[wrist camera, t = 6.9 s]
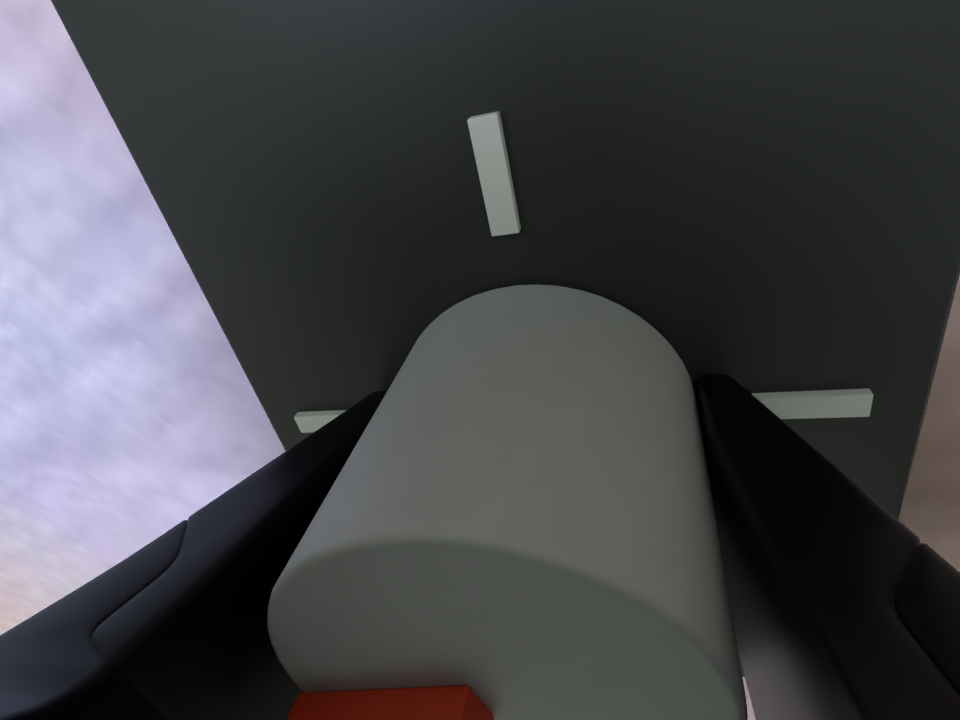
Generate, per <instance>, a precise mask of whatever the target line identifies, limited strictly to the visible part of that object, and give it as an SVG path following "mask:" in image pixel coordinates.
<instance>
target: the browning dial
mask: <svg viewBox="0 0 960 720" xmlns="http://www.w3.org/2000/svg"><path fill="white" fill-rule="evenodd" d="M268 631H269V636H270V640H271V644H272V646H273V648H274V651H275V653H276V655H277V657H278V659H279V661H280V662H281V664H282V666H283V667H284V669H285V670H286V672H287V674H288V675H289V676H290V677H291V678H292V680H293V681H294V682H295V683H296V685H297V686H298V687H299V688H300V689H301V690H302V691H303V693H299V694H298V696H297V698H296V700H295V702H294V704H293V707H292V709H291V711H290V713H289V715H288V718H287V720H747V706H746V696H745V690H744V684H743V678H742V672H741V666H740V660H739V654H738V648H737V642H736V636H735V630H734V624H733V618H732V612H731V606H730V600H729V594H728V588H727V582H726V576H725V570H724V564H723V558H722V552H721V546H720V540H719V534H718V528H717V522H716V516H715V510H714V504H713V498H712V492H711V486H710V480H709V474H708V468H707V462H706V456H705V450H704V443H703V437H702V431H701V425H700V419H699V413H698V407H697V401H696V395H695V391H694V388H693V385H692V381H691V378H690V376H689V374H688V372H687V370H686V368H685V366H684V364H683V361H682V360H681V359H680V357H679V356H678V354H677V353H676V351H675V350H674V349H673V347H672V346H671V345H670V344H669V342H668V341H667V340H666V339H665V338H664V337H663V336H662V335H661V334H660V333H659V332H658V331H657V330H656V329H655V328H653V327H652V326H651V325H650V324H648V323H647V322H646V321H645V320H643V319H642V318H641V317H639V316H638V315H636V314H634V313H633V312H631V311H630V310H628V309H626V308H625V307H623V306H621V305H619V304H617V303H615V302H612V301H610V300H608V299H606V298H604V297H601V296H598V295H595V294H592V293H589V292H585V291H582V290H578V289H573V288H568V287H562V286H554V285H539V284H534V285H515V286H509V287H504V288H498V289H493V290H490V291H487V292H484V293H480V294H477V295H474V296H472V297H470V298H468V299H465V300H463V301H461V302H459V303H457V304H455V305H454V306H452V307H451V308H449V309H448V310H446V311H445V312H443V313H442V314H441V315H439V316H438V317H437V318H436V319H435V320H434V321H433V322H432V323H430V324H429V325H428V327H427V328H426V329H425V330H424V331H423V333H422V334H421V335H420V336H419V338H418V339H417V341H416V343H415V345H414V346H413V348H412V350H411V351H410V353H409V355H408V357H407V358H406V360H405V362H404V363H403V365H402V367H401V369H400V370H399V372H398V374H397V376H396V377H395V379H394V381H393V382H392V384H391V386H390V388H389V389H388V391H387V393H386V394H385V396H384V398H383V400H382V401H381V403H380V405H379V406H378V408H377V410H376V412H375V413H374V415H373V417H372V419H371V420H370V422H369V424H368V425H367V427H366V429H365V431H364V432H363V434H362V436H361V437H360V439H359V441H358V443H357V444H356V446H355V448H354V449H353V451H352V453H351V455H350V456H349V458H348V460H347V462H346V463H345V465H344V467H343V468H342V470H341V472H340V474H339V475H338V477H337V479H336V480H335V482H334V484H333V486H332V487H331V489H330V491H329V492H328V494H327V496H326V498H325V499H324V501H323V503H322V505H321V506H320V508H319V510H318V511H317V513H316V515H315V517H314V518H313V520H312V522H311V523H310V525H309V527H308V529H307V530H306V532H305V534H304V536H303V537H302V539H301V541H300V542H299V544H298V546H297V548H296V549H295V551H294V553H293V554H292V556H291V558H290V560H289V561H288V563H287V565H286V566H285V568H284V570H283V572H282V573H281V575H280V577H279V579H278V580H277V582H276V584H275V586H274V587H273V589H272V593H271V597H270V601H269V605H268Z"/></svg>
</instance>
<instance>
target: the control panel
mask: <svg viewBox="0 0 960 720" xmlns="http://www.w3.org/2000/svg"><path fill="white" fill-rule="evenodd" d="M51 1H52V3H53V5H54V7H55V9H56V11H57V13H58V15H59V17H60V18H61V20H62V22H63V24H64V26H65V28H66V30H67V32H68V34H69V36H70V38H71V40H72V42H73V43H74V45H75V47H76V49H77V51H78V53H79V55H80V57H81V59H82V61H83V63H84V65H85V67H86V68H87V70H88V72H89V74H90V76H91V78H92V80H93V82H94V84H95V86H96V88H97V90H98V91H99V93H100V95H101V97H102V99H103V101H104V103H105V105H106V107H107V109H108V111H109V113H110V115H111V116H112V118H113V120H114V122H115V124H116V126H117V128H118V130H119V132H120V134H121V136H122V138H123V139H124V141H125V143H126V145H127V147H128V149H129V151H130V153H131V155H132V157H133V159H134V161H135V163H136V164H137V166H138V168H139V170H140V172H141V174H142V176H143V178H144V180H145V182H146V184H147V186H148V188H149V189H150V191H151V193H152V195H153V197H154V199H155V201H156V203H157V205H158V207H159V209H160V211H161V212H162V214H163V216H164V218H165V220H166V222H167V224H168V226H169V228H170V230H171V232H172V234H173V236H174V237H175V239H176V241H177V243H178V245H179V247H180V249H181V251H182V253H183V255H184V257H185V259H186V260H187V262H188V264H189V266H190V268H191V270H192V272H193V274H194V276H195V278H196V280H197V282H198V284H199V285H200V287H201V289H202V291H203V293H204V295H205V297H206V299H207V301H208V303H209V305H210V307H211V309H212V310H213V312H214V314H215V316H216V318H217V320H218V322H219V324H220V326H221V328H222V330H223V332H224V333H225V335H226V337H227V339H228V341H229V343H230V345H231V347H232V349H233V351H234V353H235V355H236V357H237V358H238V360H239V362H240V364H241V366H242V368H243V370H244V372H245V374H246V376H247V378H248V380H249V381H250V383H251V385H252V387H253V389H254V391H255V393H256V395H257V397H258V399H259V401H260V403H261V405H262V406H263V408H264V410H265V412H266V414H267V416H268V418H269V420H270V422H271V424H272V426H273V428H274V430H275V431H276V433H277V435H278V437H279V439H280V441H281V443H282V445H283V447H284V449H285V451H287V450H289V449H290V448H292V447H293V446H295V445H296V444H298V443H299V442H300V441H302V440H303V439H305V438H306V437H308V436H309V435H311V434H312V433H314V432H315V431H317V430H318V429H320V428H321V427H323V426H324V425H326V424H327V423H329V422H330V421H331V420H333V419H334V418H336V417H337V416H339V415H340V414H342V413H343V412H345V411H346V410H348V409H349V408H351V407H352V406H354V405H355V404H357V403H358V402H360V401H361V400H362V399H364V398H365V397H367V396H368V395H370V394H371V393H373V392H375V391H387V390H388V389H389V388H390V386H391V384H392V382H393V381H394V379H395V377H396V376H397V374H398V372H399V370H400V369H401V367H402V365H403V363H404V362H405V360H406V358H407V357H408V355H409V353H410V351H411V350H412V348H413V346H414V345H415V343H416V341H417V339H418V338H419V336H420V335H421V334H422V333H423V331H424V330H425V329H426V328H427V327H428V325H429V324H430V323H432V322H433V321H434V320H435V319H436V318H437V317H438V316H439V315H441V314H442V313H443V312H445V311H446V310H448V309H449V308H451V307H452V306H454V305H455V304H457V303H459V302H461V301H463V300H465V299H468V298H470V297H472V296H474V295H477V294H480V293H484V292H487V291H490V290H493V289H498V288H504V287H509V286H515V285H534V284H539V285H554V286H562V287H568V288H573V289H578V290H582V291H585V292H589V293H592V294H595V295H598V296H601V297H604V298H606V299H608V300H610V301H612V302H615V303H617V304H619V305H621V306H623V307H625V308H626V309H628V310H630V311H631V312H633V313H634V314H636V315H638V316H639V317H641V318H642V319H643V320H645V321H646V322H647V323H648V324H650V325H651V326H652V327H653V328H655V329H656V330H657V331H658V332H659V333H660V334H661V335H662V336H663V337H664V338H665V339H666V340H667V341H668V342H669V344H670V345H671V346H672V347H673V349H674V350H675V351H676V353H677V354H678V356H679V357H680V359H681V360H682V361H683V364H684V366H685V368H686V370H687V372H688V374H689V376H690V378H691V381H692V385H693V388H694V391H695V395H696V401H697V380H698V379H699V378H700V377H701V376H717V375H728V376H731V377H732V378H733V379H735V380H736V381H737V382H738V383H739V384H740V385H741V386H743V387H744V388H745V389H746V390H747V391H748V392H750V393H751V394H752V395H753V396H754V397H755V398H757V399H758V400H759V401H760V402H761V403H762V404H764V405H765V406H766V407H767V408H768V409H769V410H771V411H772V412H773V413H774V414H775V415H776V416H778V417H779V418H780V419H781V420H782V421H783V422H785V423H786V424H787V425H788V426H789V427H790V428H792V429H793V430H794V431H795V432H796V433H797V434H798V435H800V436H801V437H802V438H803V439H804V440H805V441H807V442H808V443H809V444H810V445H811V446H812V447H814V448H815V449H816V450H817V451H818V452H819V453H821V454H822V455H823V456H824V457H825V458H826V459H828V460H829V461H830V462H831V463H832V464H833V465H835V466H836V467H837V468H838V469H839V470H840V471H842V472H843V473H844V474H845V475H846V476H847V477H848V478H850V479H851V480H852V481H853V482H854V483H855V484H857V485H858V486H859V487H860V488H861V489H862V490H864V491H865V492H866V493H867V494H868V495H869V496H871V497H872V498H873V499H874V500H875V501H876V502H878V503H879V504H880V505H881V506H882V507H883V508H885V509H886V510H887V511H888V512H889V513H890V514H892V515H893V516H894V517H895V518H896V519H897V520H898V518H899V514H900V510H901V506H902V502H903V498H904V494H905V490H906V486H907V482H908V478H909V474H910V470H911V466H912V462H913V458H914V454H915V450H916V446H917V442H918V438H919V434H920V430H921V426H922V422H923V418H924V414H925V410H926V406H927V402H928V398H929V394H930V390H931V386H932V382H933V378H934V374H935V370H936V366H937V362H938V358H939V354H940V350H941V346H942V342H943V338H944V334H945V330H946V326H947V322H948V318H949V314H950V310H951V306H952V302H953V298H954V294H955V290H956V286H957V282H958V278H959V274H960V0H51ZM737 648H738V647H737ZM738 654H739V651H738ZM739 660H740V666H741V672H742V677H745V675H744V671H743V667H742V663H741V659H740V655H739Z"/></svg>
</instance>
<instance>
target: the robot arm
mask: <svg viewBox="0 0 960 720" xmlns="http://www.w3.org/2000/svg"><path fill="white" fill-rule="evenodd" d="M387 391H388V390H387ZM387 391H375V392H373V393H371V394H370V395H368V396H367V397H365V398H364V399H362V400H361V401H360V402H358V403H357V404H355V405H354V406H352V407H351V408H349V409H348V410H346V411H345V412H343V413H342V414H340V415H339V416H337V417H336V418H334V419H333V420H331V421H330V422H329V423H327V424H326V425H324V426H323V427H321V428H320V429H318V430H317V431H315V432H314V433H312V434H311V435H309V436H308V437H306V438H305V439H303V440H302V441H300V442H299V443H298V444H296V445H295V446H293V447H292V448H290V449H289V450H287V451H286V452H284V453H283V454H281V455H280V456H278V457H277V458H275V459H274V460H272V461H271V462H269V463H268V464H267V465H265V466H264V467H262V468H261V469H259V470H258V471H256V472H255V473H253V474H252V475H250V476H249V477H247V478H246V479H244V480H243V481H241V482H240V483H239V484H237V485H236V486H234V487H233V488H231V489H230V490H228V491H227V492H225V493H224V494H222V495H221V496H219V497H218V498H216V499H215V500H213V501H212V502H210V503H209V504H208V505H206V506H205V507H203V508H202V509H200V510H199V511H197V512H196V513H194V514H193V515H191V516H190V517H189V519H188V521H187V520H184V521H182V522H181V523H179V524H178V525H176V526H175V527H173V528H172V529H170V530H169V531H167V532H166V533H165V534H163V535H162V536H160V537H159V538H157V539H156V540H154V541H153V542H151V543H149V544H148V545H146V546H145V547H143V548H142V549H140V550H139V551H137V552H136V553H134V554H133V555H131V556H130V557H128V558H127V559H125V560H124V561H122V562H120V563H119V564H117V565H115V566H114V567H112V568H111V569H109V570H107V571H106V572H104V573H103V574H101V575H99V576H98V577H96V578H94V579H93V580H91V581H90V582H88V583H86V584H85V585H83V586H82V587H80V588H78V589H77V590H75V591H73V592H72V593H70V594H68V595H67V596H65V597H63V598H62V599H60V600H58V601H57V602H55V603H53V604H52V605H50V606H48V607H47V608H45V609H43V610H42V611H40V612H39V613H37V614H35V615H34V616H32V617H30V618H29V619H27V620H25V621H24V622H22V623H20V624H19V625H17V626H15V627H14V628H12V629H10V630H9V631H7V632H5V633H4V634H2V635H0V720H287V718H288V715H289V713H290V711H291V709H292V707H293V704H294V702H295V700H296V698H297V696H298V694H299V693H303V691H302V690H301V689H300V688H299V687H298V686H297V685H296V683H295V682H294V681H293V680H292V678H291V677H290V676H289V675H288V674H287V672H286V670H285V669H284V667H283V666H282V664H281V662H280V661H279V659H278V657H277V655H276V653H275V651H274V648H273V646H272V644H271V640H270V636H269V631H268V605H269V601H270V597H271V593H272V589H273V587H274V586H275V584H276V582H277V580H278V579H279V577H280V575H281V573H282V572H283V570H284V568H285V566H286V565H287V563H288V561H289V560H290V558H291V556H292V554H293V553H294V551H295V549H296V548H297V546H298V544H299V542H300V541H301V539H302V537H303V536H304V534H305V532H306V530H307V529H308V527H309V525H310V523H311V522H312V520H313V518H314V517H315V515H316V513H317V511H318V510H319V508H320V506H321V505H322V503H323V501H324V499H325V498H326V496H327V494H328V492H329V491H330V489H331V487H332V486H333V484H334V482H335V480H336V479H337V477H338V475H339V474H340V472H341V470H342V468H343V467H344V465H345V463H346V462H347V460H348V458H349V456H350V455H351V453H352V451H353V449H354V448H355V446H356V444H357V443H358V441H359V439H360V437H361V436H362V434H363V432H364V431H365V429H366V427H367V425H368V424H369V422H370V420H371V419H372V417H373V415H374V413H375V412H376V410H377V408H378V406H379V405H380V403H381V401H382V400H383V398H384V396H385V394H386V393H387ZM697 407H698V413H699V419H700V425H701V431H702V437H703V443H704V450H705V456H706V462H707V468H708V474H709V480H710V486H711V492H712V498H713V504H714V510H715V516H716V522H717V528H718V534H719V540H720V546H721V552H722V558H723V564H724V570H725V576H726V582H727V588H728V594H729V600H730V606H731V612H732V618H733V624H734V630H735V636H736V642H737V647H738V651H739V655H740V659H741V663H742V667H743V671H744V675H745V678H746V682H747V686H748V690H749V694H750V698H751V702H752V706H753V710H754V714H755V718H756V720H960V572H958V571H957V570H956V569H955V568H954V567H952V566H951V565H950V564H949V563H948V562H947V561H945V560H944V559H943V558H942V557H941V556H940V555H939V554H937V553H936V552H935V551H934V550H933V549H932V548H930V547H929V546H928V545H927V544H924V543H921V544H919V543H920V539H919V538H918V537H917V536H916V535H915V534H914V533H912V532H911V531H910V530H909V529H908V528H907V527H905V526H904V525H903V524H902V523H901V522H900V521H899V520H897V519H896V518H895V517H894V516H893V515H892V514H890V513H889V512H888V511H887V510H886V509H885V508H883V507H882V506H881V505H880V504H879V503H878V502H876V501H875V500H874V499H873V498H872V497H871V496H869V495H868V494H867V493H866V492H865V491H864V490H862V489H861V488H860V487H859V486H858V485H857V484H855V483H854V482H853V481H852V480H851V479H850V478H848V477H847V476H846V475H845V474H844V473H843V472H842V471H840V470H839V469H838V468H837V467H836V466H835V465H833V464H832V463H831V462H830V461H829V460H828V459H826V458H825V457H824V456H823V455H822V454H821V453H819V452H818V451H817V450H816V449H815V448H814V447H812V446H811V445H810V444H809V443H808V442H807V441H805V440H804V439H803V438H802V437H801V436H800V435H798V434H797V433H796V432H795V431H794V430H793V429H792V428H790V427H789V426H788V425H787V424H786V423H785V422H783V421H782V420H781V419H780V418H779V417H778V416H776V415H775V414H774V413H773V412H772V411H771V410H769V409H768V408H767V407H766V406H765V405H764V404H762V403H761V402H760V401H759V400H758V399H757V398H755V397H754V396H753V395H752V394H751V393H750V392H748V391H747V390H746V389H745V388H744V387H743V386H741V385H740V384H739V383H738V382H737V381H736V380H735V379H733V378H732V377H731V376H728V375H717V376H701V377H700V378H699V379H698V380H697Z"/></svg>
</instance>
